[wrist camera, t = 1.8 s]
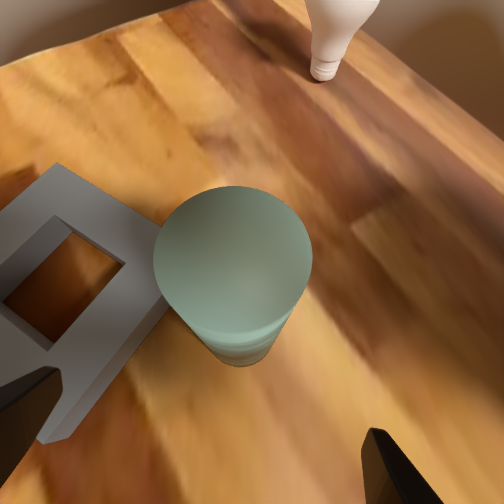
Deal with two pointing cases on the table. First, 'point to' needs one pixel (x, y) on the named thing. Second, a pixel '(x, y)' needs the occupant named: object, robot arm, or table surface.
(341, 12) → the lightbulb
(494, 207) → the table surface
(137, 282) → the holder board
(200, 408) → the table surface
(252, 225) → the peg
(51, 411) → the robot arm
